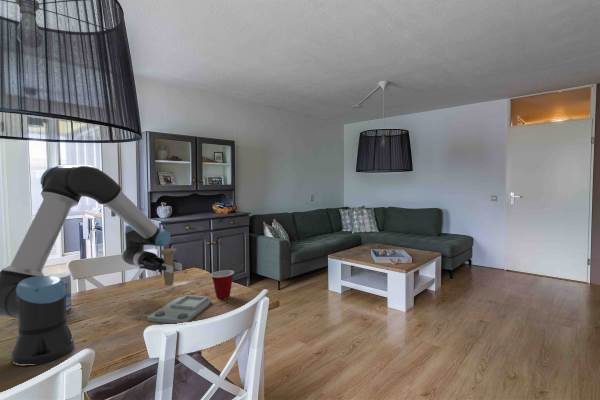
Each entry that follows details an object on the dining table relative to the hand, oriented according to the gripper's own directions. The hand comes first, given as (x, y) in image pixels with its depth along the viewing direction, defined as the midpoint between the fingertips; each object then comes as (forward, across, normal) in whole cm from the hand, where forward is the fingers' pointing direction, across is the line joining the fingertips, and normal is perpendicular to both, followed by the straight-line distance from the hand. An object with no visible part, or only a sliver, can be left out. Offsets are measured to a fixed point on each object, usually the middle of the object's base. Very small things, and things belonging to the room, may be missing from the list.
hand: (176, 268), depth 130 cm
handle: (-6, 0, -8) cm, 10 cm away
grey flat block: (+1, -2, -18) cm, 18 cm away
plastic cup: (+3, -22, -19) cm, 29 cm away
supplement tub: (-42, +28, -19) cm, 54 cm away
